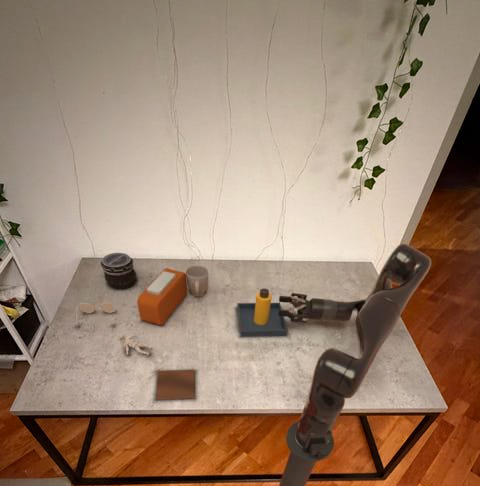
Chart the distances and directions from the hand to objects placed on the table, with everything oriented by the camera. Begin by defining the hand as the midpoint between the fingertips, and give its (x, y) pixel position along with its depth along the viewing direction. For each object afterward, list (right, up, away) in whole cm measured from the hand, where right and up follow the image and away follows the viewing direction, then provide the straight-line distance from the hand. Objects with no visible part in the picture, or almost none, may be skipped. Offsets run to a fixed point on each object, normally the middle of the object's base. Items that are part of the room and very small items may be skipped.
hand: (278, 305), depth 125 cm
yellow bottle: (-6, -4, +6) cm, 10 cm away
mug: (-32, +9, +15) cm, 36 cm away
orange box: (-44, +2, +9) cm, 45 cm away
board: (-35, -31, -15) cm, 49 cm away
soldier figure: (-51, -17, -6) cm, 54 cm away
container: (-65, +16, +18) cm, 69 cm away
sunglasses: (-68, -5, +3) cm, 68 cm away
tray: (-6, -4, +6) cm, 10 cm away
